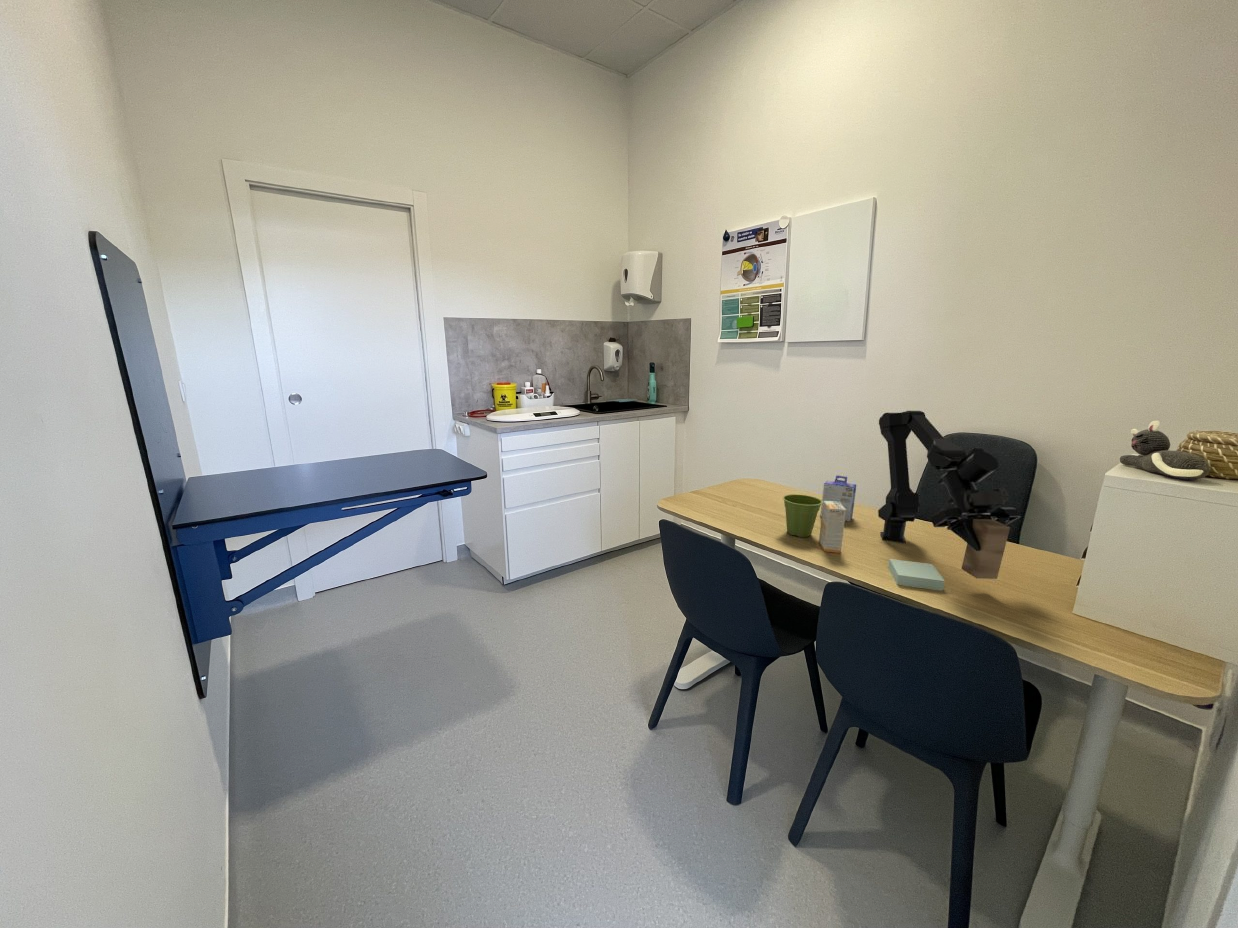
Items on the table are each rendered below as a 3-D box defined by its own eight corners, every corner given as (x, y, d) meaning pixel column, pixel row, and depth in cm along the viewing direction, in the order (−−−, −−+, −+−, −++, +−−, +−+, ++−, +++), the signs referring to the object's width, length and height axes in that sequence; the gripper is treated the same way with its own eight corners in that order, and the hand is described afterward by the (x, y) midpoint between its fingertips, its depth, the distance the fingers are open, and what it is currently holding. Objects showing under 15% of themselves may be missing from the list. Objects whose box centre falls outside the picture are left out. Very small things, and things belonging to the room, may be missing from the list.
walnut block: (961, 568, 120) (973, 518, 116) (980, 569, 120) (992, 519, 117) (976, 578, 115) (989, 526, 112) (997, 578, 115) (1010, 527, 112)
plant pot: (826, 535, 152) (831, 501, 150) (803, 543, 146) (807, 507, 143) (794, 524, 162) (798, 491, 159) (771, 531, 155) (774, 497, 153)
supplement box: (841, 553, 139) (847, 509, 136) (823, 551, 140) (828, 508, 137) (835, 542, 147) (840, 501, 144) (818, 541, 148) (823, 499, 145)
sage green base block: (888, 569, 130) (889, 558, 130) (930, 574, 127) (932, 564, 127) (896, 585, 121) (898, 574, 120) (942, 592, 118) (944, 580, 117)
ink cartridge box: (852, 517, 169) (858, 477, 166) (850, 522, 165) (856, 481, 161) (822, 512, 174) (827, 473, 171) (819, 516, 170) (824, 476, 166)
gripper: (948, 475, 115) (975, 537, 107) (1022, 475, 116) (1055, 536, 108) (920, 497, 124) (943, 555, 116) (989, 497, 126) (1017, 554, 118)
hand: (989, 550), depth 114 cm, fingers closed on walnut block, 5 cm apart
